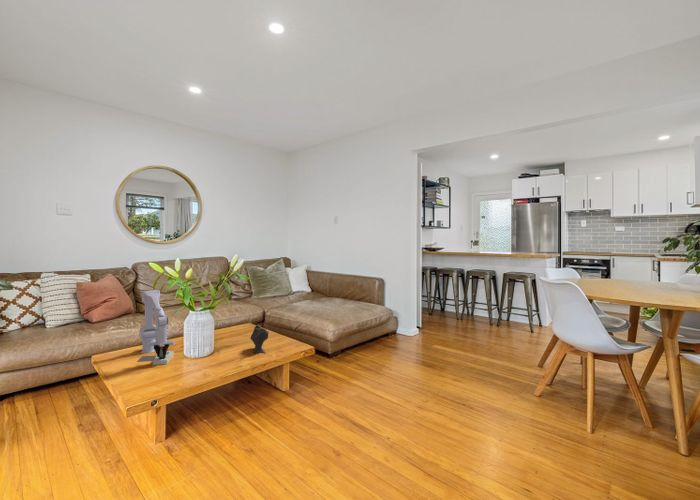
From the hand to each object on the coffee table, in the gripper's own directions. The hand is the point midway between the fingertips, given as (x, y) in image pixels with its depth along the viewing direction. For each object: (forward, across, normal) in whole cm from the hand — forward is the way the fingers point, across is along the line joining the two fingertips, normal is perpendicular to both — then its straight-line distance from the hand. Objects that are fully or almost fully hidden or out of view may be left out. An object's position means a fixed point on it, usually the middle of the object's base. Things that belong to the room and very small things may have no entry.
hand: (161, 356), depth 211 cm
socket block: (+4, 0, +4) cm, 6 cm away
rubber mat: (+4, -10, +8) cm, 13 cm away
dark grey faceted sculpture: (+4, +60, +13) cm, 62 cm away
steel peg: (+3, 0, 0) cm, 3 cm away
